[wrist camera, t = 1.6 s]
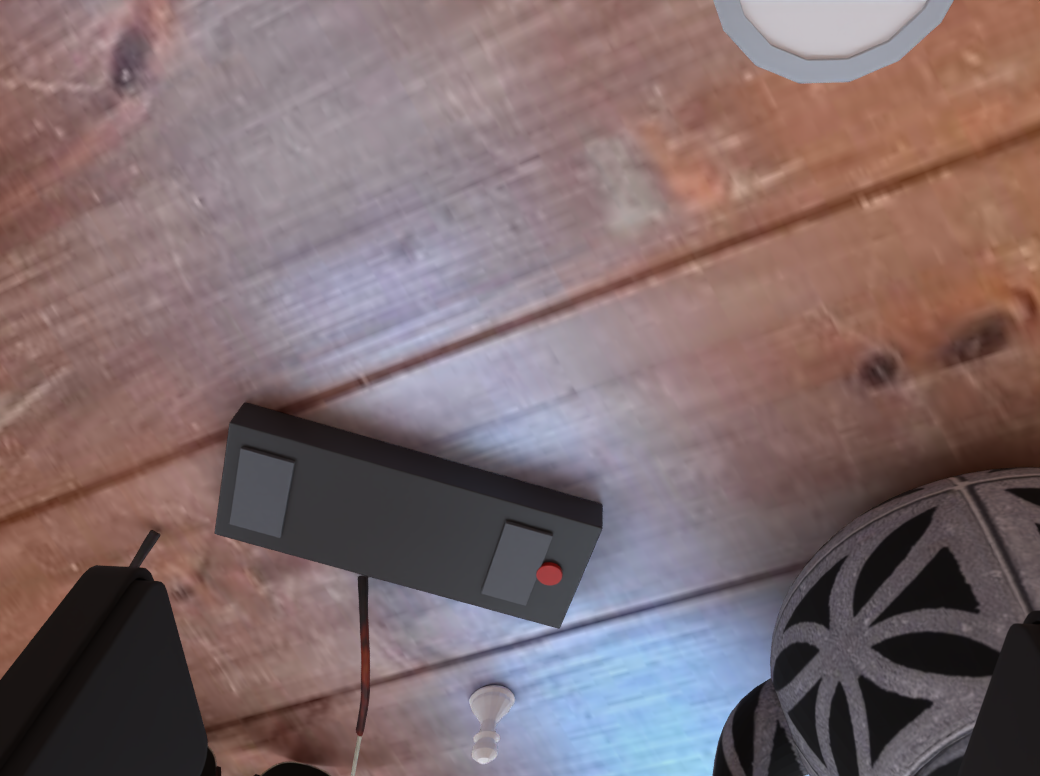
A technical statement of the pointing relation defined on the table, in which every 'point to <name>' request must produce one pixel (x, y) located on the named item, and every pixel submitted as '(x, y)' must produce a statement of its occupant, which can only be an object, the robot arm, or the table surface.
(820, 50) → the white short cylinder
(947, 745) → the teapot
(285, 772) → the sunglasses
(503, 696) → the chess pawn
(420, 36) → the table surface
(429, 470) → the remote
